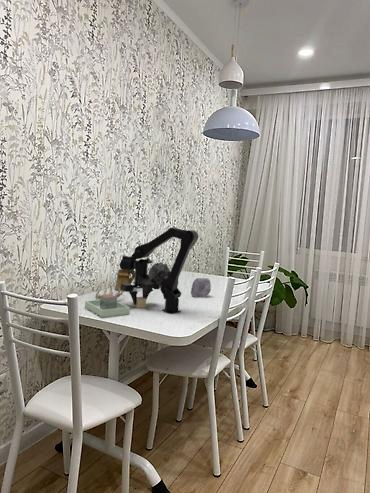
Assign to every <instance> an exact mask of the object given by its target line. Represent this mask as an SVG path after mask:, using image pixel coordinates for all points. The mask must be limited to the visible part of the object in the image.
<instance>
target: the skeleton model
mask: <svg viewBox="0 0 370 493" xmlns="http://www.w3.org/2000/svg"><path fill="white" fill-rule="evenodd" d="M107 290H108V288H107V287H106V288H105V290H103V293H102V294H100V292H101V290H100V289H98V291H97V292H96V293H95V297H96V298H95V300H100V296H101V295H114V296H116V297H117V298H119V297H120V296H121V295H123V293H124V291H123V290H122V291H120V289H119V290H118V291H117V292H116V293H115V294H113V285H110V287H109V292H108V293H109V294H107Z"/></svg>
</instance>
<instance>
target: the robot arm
mask: <svg viewBox="0 0 370 493" xmlns="http://www.w3.org/2000/svg"><path fill="white" fill-rule="evenodd" d="M173 238H175V239H178V240H179V239H180V247H179V250H178V253H177V256H176V258H175V260H174V263H173V264H172V265H173V266H172V268H171V269H170V274H169V276H167V277H164V278H163V280H162V283H161V285H159V283H157V280H156V279H152V280H151V279H149V274H148V266H149V264H152V263H153V261H152V260H151V259H150V258H149V256H151V254H152V253H153V252H154V251H155V250H156V249H157V248H158V247H160V246H162V245H164V244H165V243H167V242H168V241H170V240H172V239H173ZM198 239H199V233H198V232H197V231H196V230H194V229H191V230H189V229H188V230H187V229H180V228H177V227H170V228H168V229H167V230H166V231H164V232H163V233H161V234H159V236H156V237H155V238H154V239H152V240H150V241H149V242H145V243H143V244H141V245H138V246H136V247H135V248H134V252H133V253H132V254H131V256H128V255H123V256H122V257H121V258H122V259H121V260H120V262H119V268H120V270H129V271H133V270H134V271H135V273H134V276H135V278H134V281H132V283H131V284H129V283H126V284H122V285H121V286H120V290H123V292H126V293H129V295H130V297H131V300H132V303H133V302H134V305H136V300H137V297H138V296H137V295H138V292H139V291H137V289H142V292H141V293H142V297H143V298H146V301H147V300H148V297H149V295H150V294H151V293H152V292H154V290H160V292H161V293H162V296H163V299H164V301H165V302H164V308H162V311H164V312H166V313H168V314H175V313H181V312H182V310H180V309H179V308H180V306H179V305H180V304H179V303H180V299H179V298H180V297H181V295H182V292H181V291H180V289H179V288H178V287H179V277H180V275H181V272H182V270H183V267H184V266H185V262H186V260H187V258H188V255H189V253H190V251H191V249H192V248H193V247H194V246H195V245H196V243H197V242H198ZM143 258H145V259H143ZM138 260H139V261H138Z"/></svg>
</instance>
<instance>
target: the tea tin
mask: <svg viewBox="0 0 370 493" xmlns="http://www.w3.org/2000/svg"><path fill="white" fill-rule="evenodd" d="M100 295H101V296H100V309H102V310H108V309H117V302H118V297H116V296H115V294H112V295H108V294H106V295H103V294H100Z"/></svg>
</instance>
